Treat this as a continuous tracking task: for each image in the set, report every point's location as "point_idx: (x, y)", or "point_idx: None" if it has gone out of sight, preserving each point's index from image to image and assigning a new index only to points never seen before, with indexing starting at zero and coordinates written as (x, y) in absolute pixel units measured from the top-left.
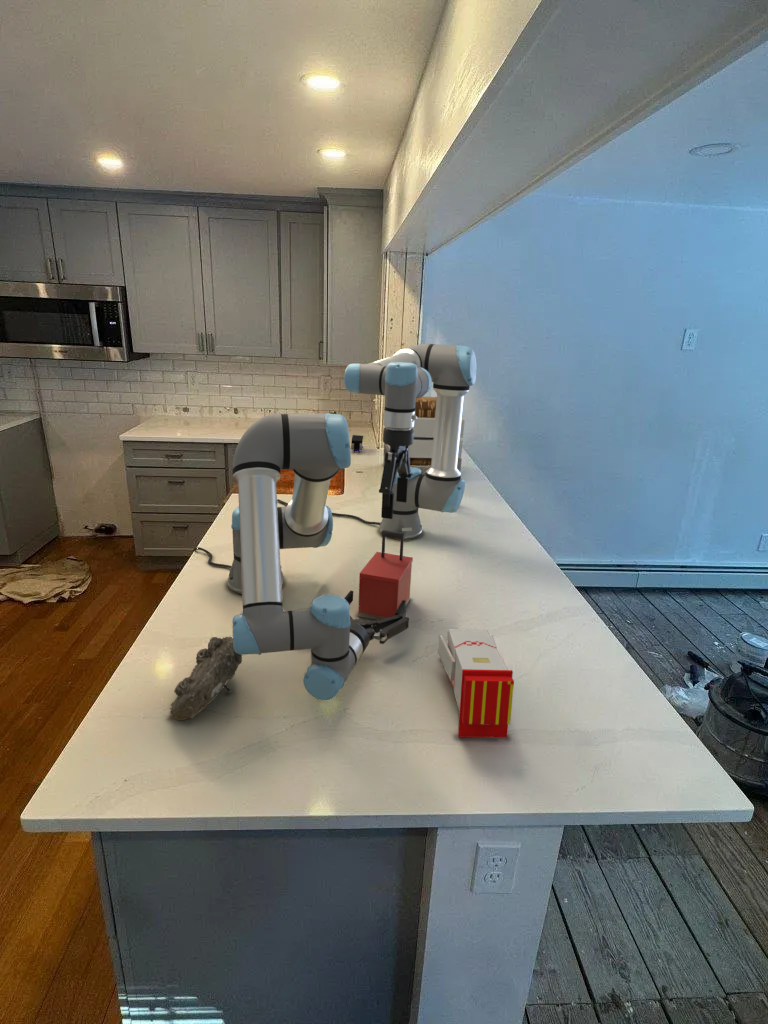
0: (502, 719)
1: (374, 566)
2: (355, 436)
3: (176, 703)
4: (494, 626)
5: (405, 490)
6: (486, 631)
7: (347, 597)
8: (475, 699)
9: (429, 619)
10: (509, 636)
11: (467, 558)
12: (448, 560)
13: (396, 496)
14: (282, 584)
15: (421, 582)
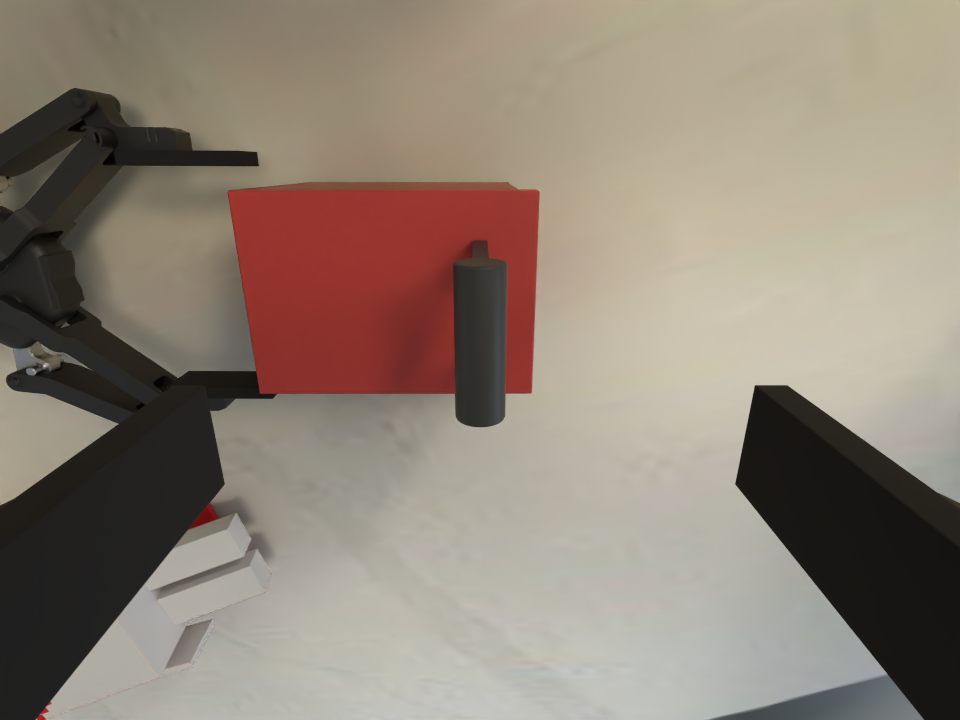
0: None
1: (341, 242)
2: None
3: None
4: (436, 578)
5: (819, 571)
6: (145, 677)
7: (167, 162)
8: None
9: (397, 416)
10: (401, 613)
11: (911, 452)
12: (882, 390)
13: (786, 411)
14: None
15: (654, 335)
